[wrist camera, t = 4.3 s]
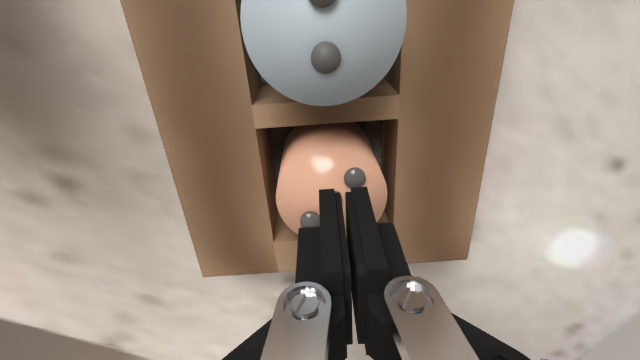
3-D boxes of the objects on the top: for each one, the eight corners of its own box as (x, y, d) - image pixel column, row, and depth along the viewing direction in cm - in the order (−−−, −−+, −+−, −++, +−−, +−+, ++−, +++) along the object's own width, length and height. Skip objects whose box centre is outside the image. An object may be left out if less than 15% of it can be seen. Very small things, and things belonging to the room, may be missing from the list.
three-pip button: (371, 110, 18) (390, 145, 14) (370, 191, 20) (386, 242, 16) (277, 117, 18) (268, 153, 14) (287, 197, 20) (282, 249, 16)
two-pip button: (380, -60, 13) (414, -86, 9) (378, 73, 15) (404, 102, 11) (250, -51, 13) (224, -72, 9) (268, 81, 15) (253, 113, 11)
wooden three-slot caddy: (534, -465, 10) (636, -673, 7) (444, 221, 21) (467, 259, 18) (50, -428, 10) (-65, -617, 7) (218, 236, 21) (203, 276, 18)
